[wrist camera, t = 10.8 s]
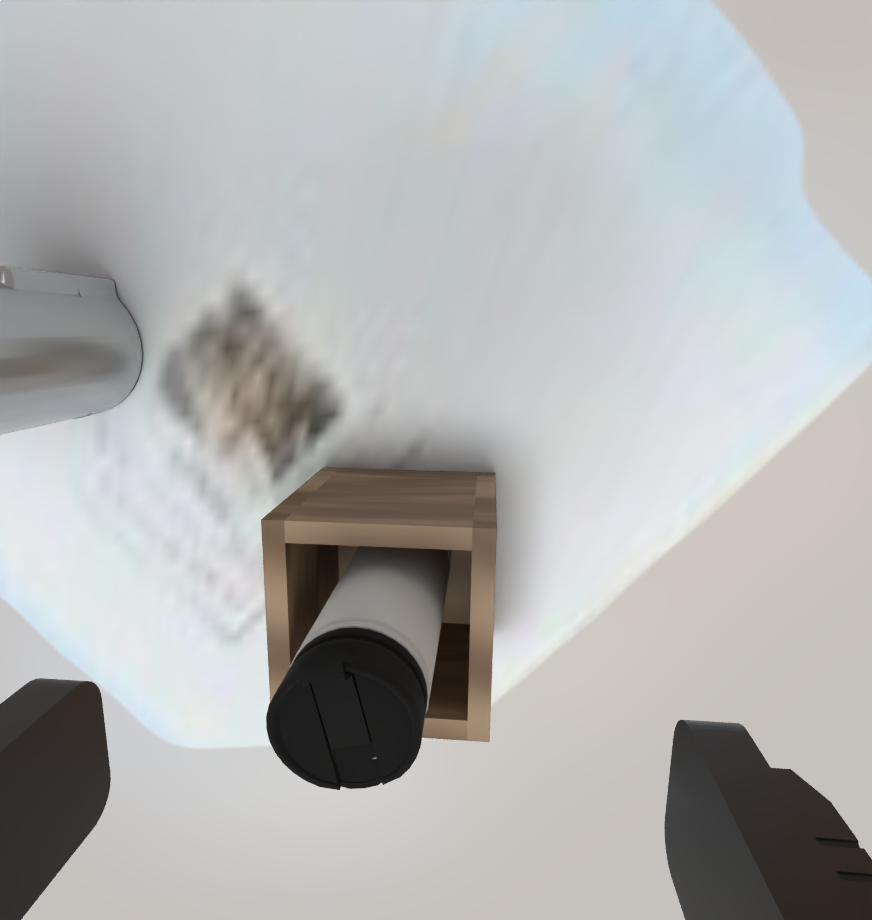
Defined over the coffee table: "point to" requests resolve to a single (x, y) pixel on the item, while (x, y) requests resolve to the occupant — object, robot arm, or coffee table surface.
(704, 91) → the coffee table surface
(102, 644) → the coffee table surface
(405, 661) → the travel mug
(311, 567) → the wooden box
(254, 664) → the coffee table surface
